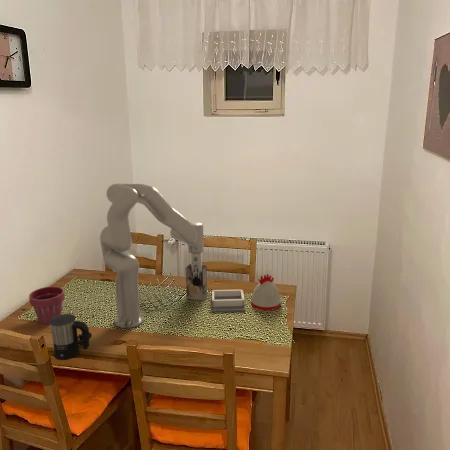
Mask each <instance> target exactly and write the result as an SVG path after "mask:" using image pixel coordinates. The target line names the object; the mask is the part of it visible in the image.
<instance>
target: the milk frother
mask: <svg viewBox="0 0 450 450" xmlns="http://www.w3.org/2000/svg"><path fill="white" fill-rule="evenodd" d="M49 324H50V330H51V335H52V343H53V352H54V353H53V354H54V355H53V357H54V359H55V360H58V361H68V360H72V359H73V358H76V357H77V356H78V355H79V354H80V347H81V346H82V350H84V351H85V350H86V351H87V350H88V348H89V347H90V339H91V338H92V337H93V334H92V333H91V332H90V330H89V325H87V324H86V323H85V322H83V321H79V320H76V316H75V315H74V314H71V313H70V314H69V313H63V314H62V313H61V315H58V316H55V317H53V318H52V319H51V320H50V322H49ZM77 329H78V330H80V331H81V333H79V334H78V330H77Z"/></svg>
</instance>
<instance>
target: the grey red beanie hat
mask: <svg viewBox="0 0 450 450" xmlns="http://www.w3.org/2000/svg"><path fill="white" fill-rule="evenodd" d="M274 278H275V277H274V276H273V277H272V276H271V275H269V274H268V273H266V274H264V275H260V279H259V278H258V282H259V283H258V284H257V285H256V286H255V287H254V289H253V292H252V295H251V302H250V304H251V306H252V307H253V308H254V309H256V308H257V310H260V311H273V310H272V309H274V310H277V309H279V308H280V307H281V295H280V292H279V290H278V288H277V286H276V284H274V283H273V282H274V280H275V279H274ZM278 307H279V308H278ZM276 308H277V309H276Z"/></svg>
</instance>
